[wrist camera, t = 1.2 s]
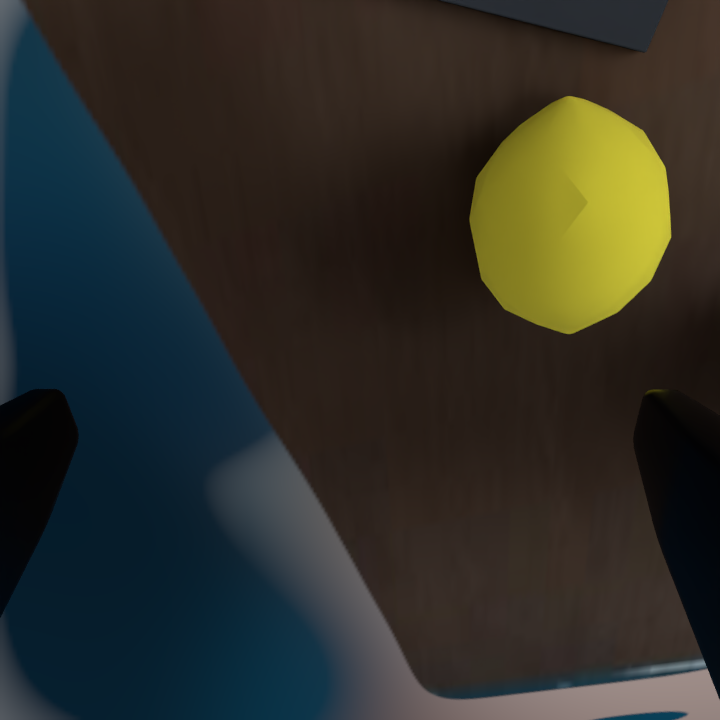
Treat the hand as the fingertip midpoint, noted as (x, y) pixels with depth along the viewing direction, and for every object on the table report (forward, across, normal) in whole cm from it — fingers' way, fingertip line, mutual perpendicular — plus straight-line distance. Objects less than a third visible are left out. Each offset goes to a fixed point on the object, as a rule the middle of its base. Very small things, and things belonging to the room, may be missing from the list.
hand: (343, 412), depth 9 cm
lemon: (+12, -5, +1) cm, 14 cm away
